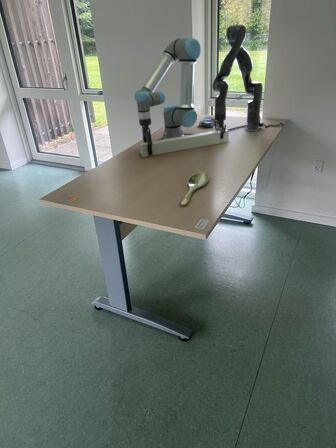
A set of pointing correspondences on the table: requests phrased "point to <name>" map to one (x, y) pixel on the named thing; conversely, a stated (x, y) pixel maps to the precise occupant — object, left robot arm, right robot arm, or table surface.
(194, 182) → the spoon
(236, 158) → the table surface
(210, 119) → the spray gun
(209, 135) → the beam
